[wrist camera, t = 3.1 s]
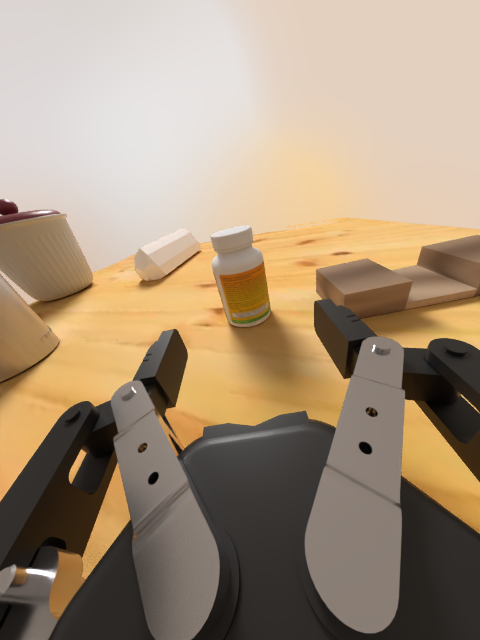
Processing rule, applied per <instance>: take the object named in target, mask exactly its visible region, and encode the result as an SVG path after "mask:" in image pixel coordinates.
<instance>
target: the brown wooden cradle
mask: <svg viewBox="0 0 480 640" xmlns="http://www.w3.org/2000/svg"><path fill="white" fill-rule="evenodd" d="M316 292H317V293H318V294H319V295H320V297H321V298H322V299H328V298H329V299H331V300H332V301H333V302H334V303H335V304H336V306H339V305H342V306H344V307H346V308H349V309H350V310H351V311H352V312H353V313H354V314H355V315H356V316H357V317H358V318H365V317H370V316H375V315H380V314H385V313H391V312H396V311H401V310H406V309H412V308H417V307H422V306H427V305H432V304H438V303H443V302H448V301H453V300H458V299H464V298H469V297H474V296H479V295H480V236H479V235H475V236H470V237H465V238H461V239H456V240H451V241H446V242H442V243H437V244H432V245H428V246H423V247H422V249H421V252H420V256H419V259H418V263H417V265H415V266H410V267H405V268H401V269H396V270H389V269H387V268H385V267H383V266H381V265H379V264H377V263H375V262H373V261H371V260H369V259H362V260H358V261H353V262H348V263H344V264H339V265H334V266H330V267H325V268H320V269H316Z"/></svg>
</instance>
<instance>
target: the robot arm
mask: <svg viewBox="0 0 480 640" xmlns="http://www.w3.org/2000/svg"><path fill="white" fill-rule="evenodd" d="M314 327H315V331H316V334H317V335H318V337H319V339H320V340H321V342H322V344H323V345H324V347H325V349H326V350H327V352H328V353H329V355H330V357H331V358H332V360H333V362H334V363H335V365H336V367H337V368H338V370H339V371H340V373H341V375H342V376H343V378H344V379H347V378H351V379H350V382H349V386H348V389H347V393H346V396H345V400H344V403H343V407H342V410H341V414H340V417H339V421H338V424H337V428H335V427H334V426H331V425H329V424H327V423H324V422H321V421H317V420H312V419H308V416H307V413H306V411H302V412H296V413H289V414H283V415H279V416H277V417H274V418H272V419H270V420H268V421H265V422H263V423H261V424H258V425H256V426H248V425H239V424H230V423H227V424H221V425H214V426H208V427H204V430H203V436H202V437H200V438H198V439H197V440H195V441H193V442H192V443H191V444H189V445H188V446H187V447H186V448H184V447H183V445H182V443H181V442H180V440H179V438H178V436H177V434H176V433H175V431H174V429H173V427H172V425H171V423H170V422H169V420H168V418H167V416H166V415H165V412H166V409H167V408H173V407H175V406H176V402H177V398H178V394H179V390H180V386H181V382H182V378H183V374H184V370H185V366H186V362H187V358H188V353H187V349H186V347H185V345H184V343H183V340H182V338H181V336H180V334H179V332H178V331H177V330H176V329H173V330H168V331H163V332H162V333H161V335H160V338H159V340H158V341H156V342H155V343H154V344H153V345H152V346H151V347H150V348H149V349H148V351H147V353H146V356H145V357H144V359H143V362H142V363H141V365H140V367H139V369H138V371H137V373H136V375H135V377H134V379H133V381H131V382H128V383H126V384H124V385H123V386H121V387H120V388H119V389H118V390H117V391H116V392H115V393H114V395H113V396H112V399H111V400H110V401H108V402H105V403H103V404H101V405H99V406H96V407H95V406H94V405H93V404H92V403H91V402H89V401H84V402H80V403H78V404H76V405H74V406H72V407H71V408H69V409H68V410H67V411H66V412H65V413H64V414H63V415H62V416H61V417H60V418H59V419H58V421H57V422H56V423H55V425H54V426H53V428H52V429H51V431H50V432H49V433H48V435H47V436H46V438H45V439H44V441H43V442H42V443H41V445H40V446H39V448H38V449H37V451H36V452H35V453H34V455H33V456H32V458H31V459H30V460H29V462H28V463H27V465H26V466H25V468H24V469H23V470H22V472H21V473H20V475H19V476H18V478H17V479H16V480H15V482H14V483H13V485H12V486H11V488H10V489H9V490H8V492H7V493H6V495H5V496H4V497H3V499H2V500H1V502H0V640H480V534H479V533H478V532H476V531H475V530H474V529H472V528H471V527H470V526H468V525H467V524H466V523H464V522H463V521H462V520H460V519H459V518H458V517H456V516H455V515H454V514H452V513H451V512H450V511H448V510H447V509H446V508H444V507H443V506H442V505H440V504H439V503H438V502H436V501H435V500H434V499H432V498H431V497H429V496H428V495H427V494H425V493H424V492H423V491H421V490H420V489H419V488H417V487H416V486H415V485H413V484H412V483H411V482H409V481H408V480H407V479H405V478H404V477H403V476H401V464H402V444H403V425H404V405H405V399H406V400H414V401H415V402H416V403H417V404H418V406H419V407H420V408H421V409H422V411H423V412H424V413H425V414H426V416H427V417H428V418H429V419H430V421H431V422H432V423H433V424H434V426H435V427H436V428H437V429H438V431H439V432H440V433H441V434H442V436H443V437H444V438H445V439H446V441H447V442H448V443H449V444H450V446H451V447H452V448H453V449H454V451H455V452H456V453H457V454H458V456H459V457H460V458H461V459H462V461H463V462H464V463H465V464H466V466H467V467H468V468H469V469H470V471H471V472H472V473H473V474H474V476H475V477H476V478H477V479H478V480H479V482H480V414H479V413H478V412H477V411H476V410H475V409H474V408H473V407H472V406H471V405H470V404H469V403H468V402H467V401H466V400H465V399H464V398H463V397H462V396H461V394H462V395H463V396H464V397H465V398H466V399H467V400H468V401H469V402H470V403H471V404H472V405H473V406H474V407H476V409H477V410H478V411H479V412H480V350H478V349H477V348H475V347H474V346H472V345H470V344H468V343H465V342H463V341H459V340H455V339H448V338H440V339H435V340H432V341H431V342H430V343H429V345H428V348H427V349H422V348H403V347H402V346H401V345H400V344H399V343H397V342H396V341H394V340H392V339H389V338H385V337H378V336H377V335H376V334H375V333H374V332H373V331H372V330H371V329H370V328H369V327H368V326H367V325H366V324H365V323H364V322H363V321H362V320H360V319H359V318H358V317H357V316H356V315H355V314H354V313H353V312H352V311H351V310H350V309H349V308H346V307H344V306H342V305H339V306H336V304H335V303H334V302H333V301H332V300H331V299H329V298H328V299H323V300H318V301H315V302H314ZM58 343H59V338H58V337H57V336H56V335H55V334H54V333H53V332H52V330H51V329H50V328H49V327H48V326H47V325H46V324H45V323H44V322H43V321H42V319H41V318H40V317H39V316H38V315H37V314H36V313H35V312H34V311H33V309H32V308H31V307H30V306H29V305H28V304H27V303H26V302H25V301H24V300H23V299H22V297H21V296H20V295H19V294H18V293H17V292H16V291H15V290H14V289H13V288H12V286H11V285H10V284H9V283H8V282H7V281H6V280H5V279H4V278H3V277H2V276H1V274H0V382H1V381H4V380H6V379H8V378H10V377H13V376H15V375H16V374H18V373H20V372H22V371H24V370H26V369H27V368H29V367H31V366H33V365H34V364H36V363H37V362H39V361H40V360H41V359H43V358H44V357H45V356H47V355H48V354H49V353H50V352H51V351H52V350H54V348H55V347H56V346H57V345H58ZM81 449H82V450H83V451H85V452H86V453H87V454H86V456H85V458H84V460H83V462H82V464H81V466H80V468H79V470H78V472H77V474H76V476H75V478H74V480H73V482H72V484H70V482H69V472H70V469H71V467H72V465H73V463H74V462H75V460H76V458H77V456H78V454H79V452H80V450H81ZM117 462H118V464H119V468H120V473H121V477H122V481H123V486H124V490H125V495H126V499H127V504H128V508H129V512H130V517H131V520H130V521H129V522H128V524H127V525H126V526H125V528H124V529H123V530H122V532H121V533H120V534H119V536H118V537H117V538H116V540H115V541H114V542H113V544H112V545H111V546H110V548H109V549H108V550H107V552H106V553H105V555H104V556H103V557H102V559H101V560H100V561H99V563H98V564H97V565H96V567H95V568H94V569H93V571H92V572H91V573H90V575H89V576H88V577H87V579H86V580H85V579H84V577H82V573H83V561H82V557H83V554H84V551H85V549H86V546H87V543H88V540H89V538H90V535H91V532H92V530H93V527H94V524H95V521H96V519H97V516H98V513H99V511H100V508H101V505H102V502H103V500H104V497H105V494H106V492H107V489H108V486H109V484H110V481H111V478H112V475H113V473H114V470H115V467H116V465H117Z"/></svg>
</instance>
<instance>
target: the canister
mask: <svg viewBox="0 0 480 640" xmlns="http://www.w3.org/2000/svg"><path fill="white" fill-rule="evenodd" d="M0 214H1V215H3V216H0V270H1V271H2V272H3V273H4V274H5V275H7V276H8V277H9V278H10V279H11V280H12V281H13V282H14V283H15V284H17V285H18V286H19V287H20V288H21V289H22V290H24V291H25V292H26V293H27V294H28V295H30V296H31V297H33V298H34V299H36V300H39V301H52V300H56V299H60V298H63V297H66V296H69V295H71V294H74V293H76V292H78V291H80V290H82V289H84V288H86V287H87V286H89V285H90V284H91V283H92V281H93V275H92V272H91V270H90V268H89V265H88V263H87V261H86V259H85V257H84V255H83V253H82V251H81V249H80V247H79V245H78V243H77V241H76V239H75V237H74V235H73V233H72V231H71V229H70V227H69V225H68V223H67V221H66V219H65V218H66V217H67V215H66V214H61V213H60V212H58V211H55V210H35V211H27V212H20V213H18V207H17V206H16V204H14V203H13V202H12V201H10V200H5V199H1V200H0Z"/></svg>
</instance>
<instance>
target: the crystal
mask: <svg viewBox="0 0 480 640" xmlns="http://www.w3.org/2000/svg"><path fill="white" fill-rule="evenodd" d="M200 249H201V247H200V244H199V242H198V241H197V240H196V239H195V238H194V237H193V235H192V234H191V233H190V232H189V231H187V230H185V229H180V230H178V231H176V232H174V233H171V234H169V235H167V236H165V237H163V238H161V239H158V240H156V241H154V242H152V243H150V244H148V245H145V246H143V247H141V248H140V249H139V250H138V252H137V254H136V256H135V271H136V272H137V274H138V275H139V277H140V278H141V279H143V280H146V281H150V280H157V279H161V278H162V277H164V276H166V275H167V274H168V273H170V272H171V271H172V270H174V269H175V268H176V267H178V266H179V265H180V264H182V263H183V262H184V261H186V260H187V259H188V258H190V257H191V256H192V255H194V254H195V253H196V252H198V251H199V250H200Z"/></svg>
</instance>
